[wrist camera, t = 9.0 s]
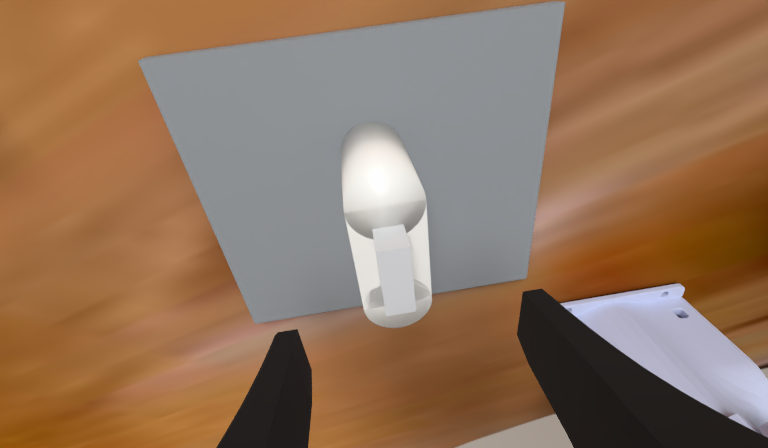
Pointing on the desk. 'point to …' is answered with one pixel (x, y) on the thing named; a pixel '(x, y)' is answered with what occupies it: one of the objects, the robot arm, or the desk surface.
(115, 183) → the desk surface
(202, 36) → the desk surface
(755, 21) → the desk surface
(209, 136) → the desk mat
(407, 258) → the connector plug
